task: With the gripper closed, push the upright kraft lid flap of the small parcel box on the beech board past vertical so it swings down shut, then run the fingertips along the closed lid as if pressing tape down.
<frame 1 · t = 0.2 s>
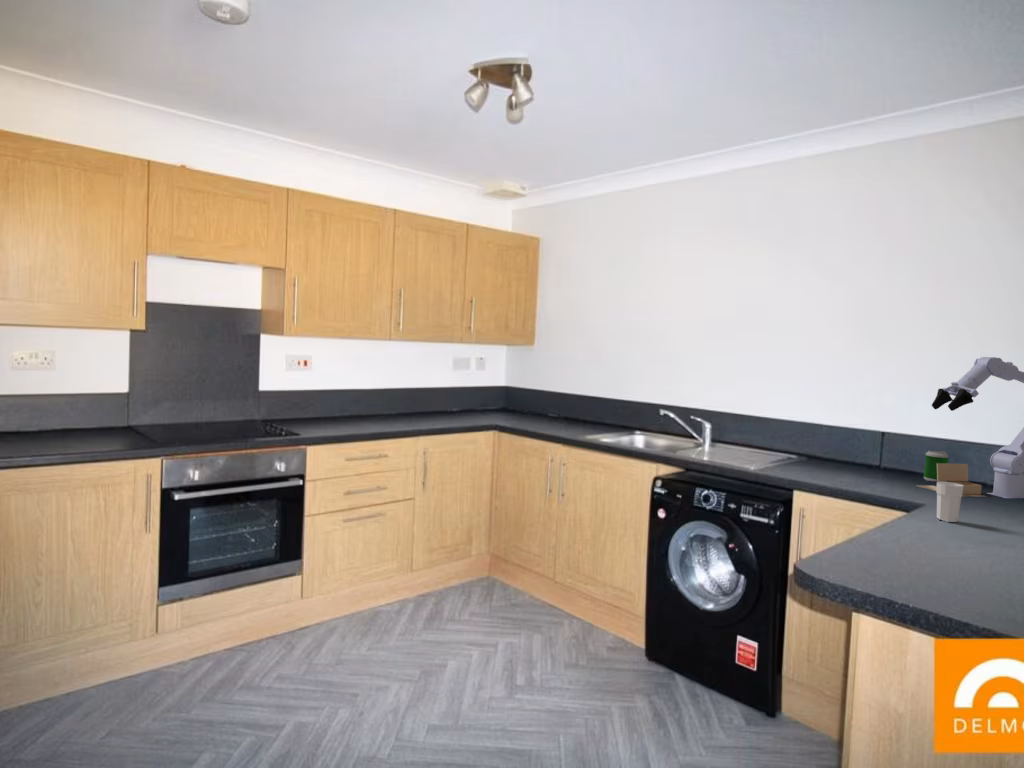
hand: (941, 407, 227), 31 cm above the countertop, tool tilted 45°, fingers open, 7 cm apart
lid flap: (952, 472, 236), point 7 cm above the countertop, hinge at 99.0°
soda can: (934, 482, 256), on the countertop
board: (950, 492, 236), on the countertop
cup: (946, 521, 193), on the countertop
parcel box: (958, 493, 233), resting on board
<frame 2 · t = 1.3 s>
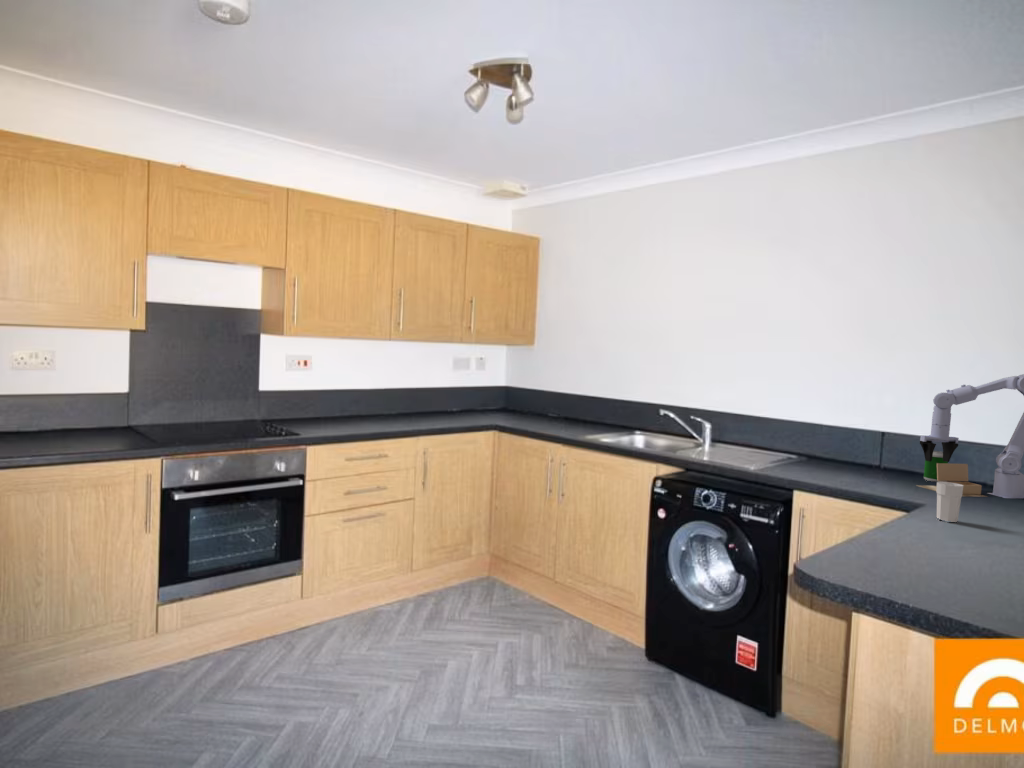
hand: (937, 461, 243), 10 cm above the countertop, tool pointing down, fingers open, 7 cm apart
nothing on the countertop moved.
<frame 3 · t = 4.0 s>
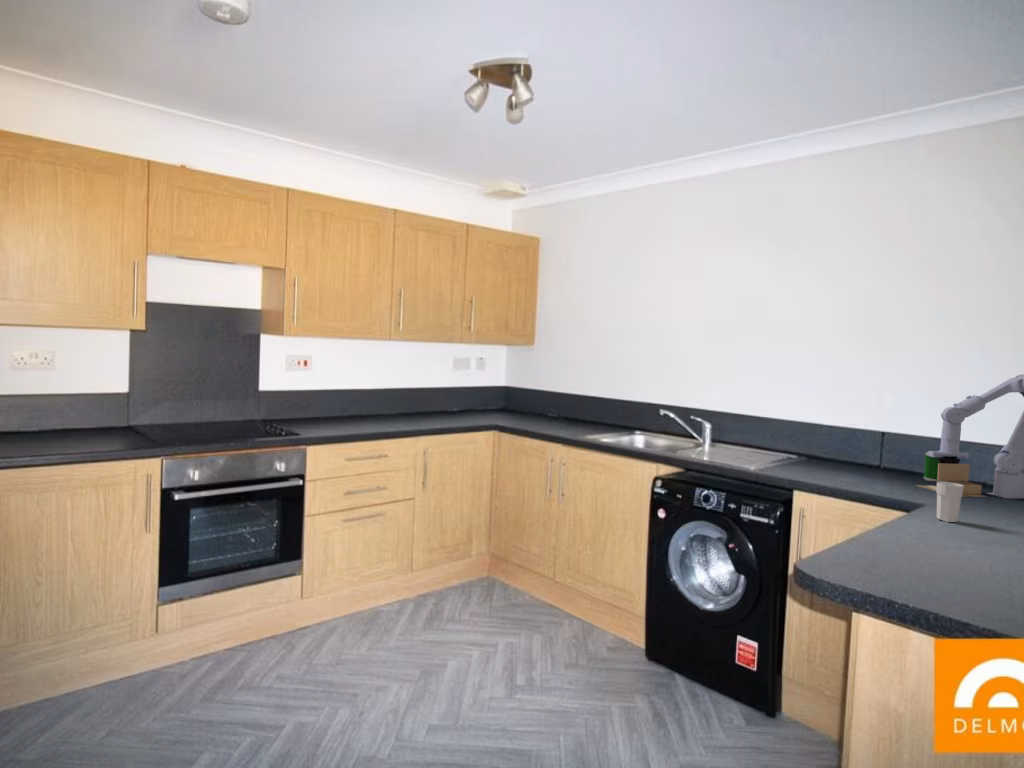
hand: (946, 477, 238), 5 cm above the countertop, tool pointing down, fingers closed, pressing on lid flap
lid flap: (953, 472, 236), point 7 cm above the countertop, hinge at 92.2°, touching gripper
everything else where it was.
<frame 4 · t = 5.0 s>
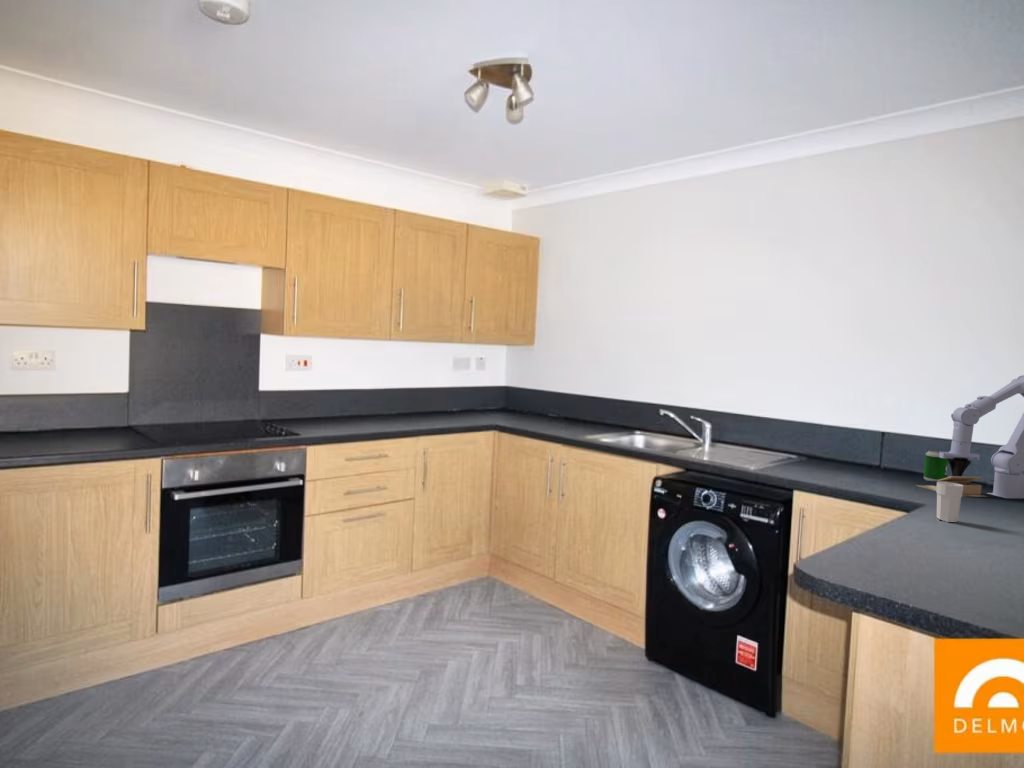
hand: (956, 478, 234), 5 cm above the countertop, tool pointing down, fingers closed, pressing on lid flap
lid flap: (959, 478, 233), point 6 cm above the countertop, hinge at 24.0°, touching gripper
everything else where it was.
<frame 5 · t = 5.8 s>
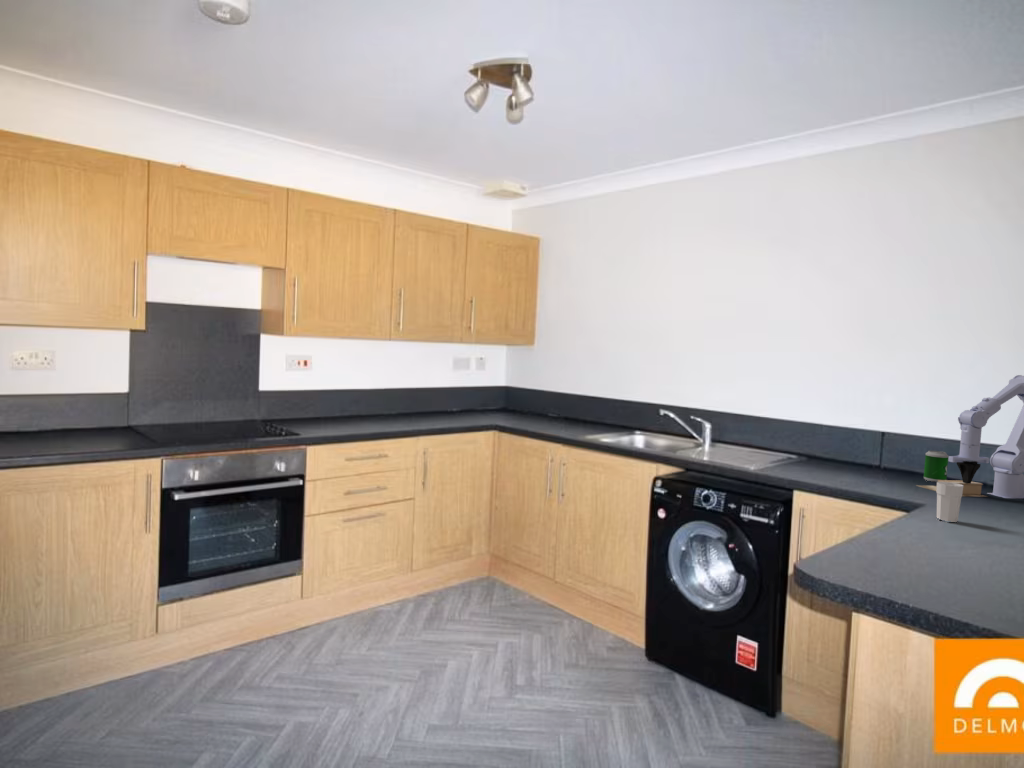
hand: (966, 482, 230), 5 cm above the countertop, tool pointing down, fingers closed
lid flap: (960, 482, 233), point 5 cm above the countertop, hinge at 1.9°
everything else where it was.
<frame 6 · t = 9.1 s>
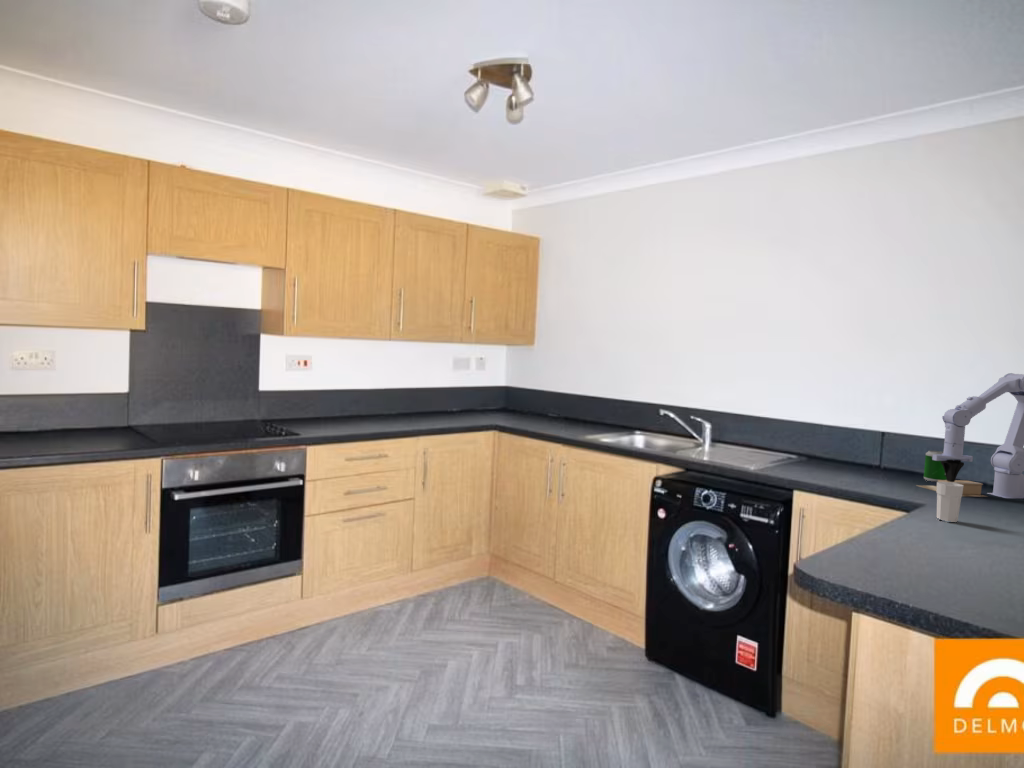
hand: (950, 481, 232), 5 cm above the countertop, tool pointing down, fingers closed
lid flap: (960, 482, 233), point 4 cm above the countertop, hinge at 1.5°
everything else where it was.
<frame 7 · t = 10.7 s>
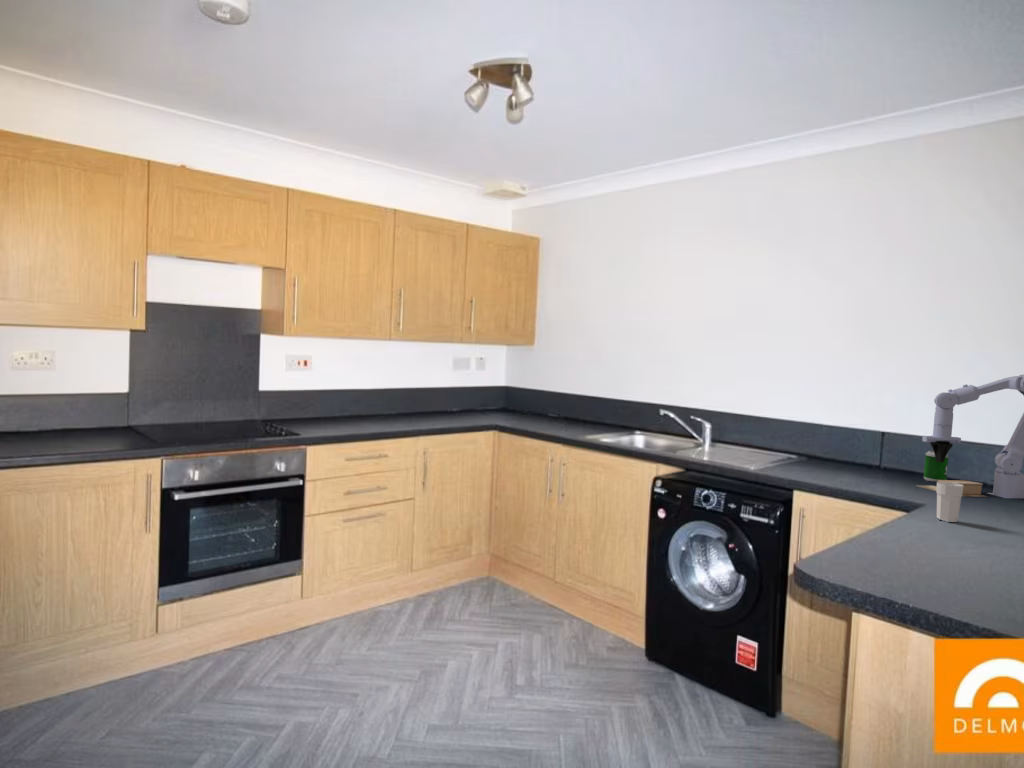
hand: (939, 461, 241), 10 cm above the countertop, tool pointing down, fingers closed
nothing on the countertop moved.
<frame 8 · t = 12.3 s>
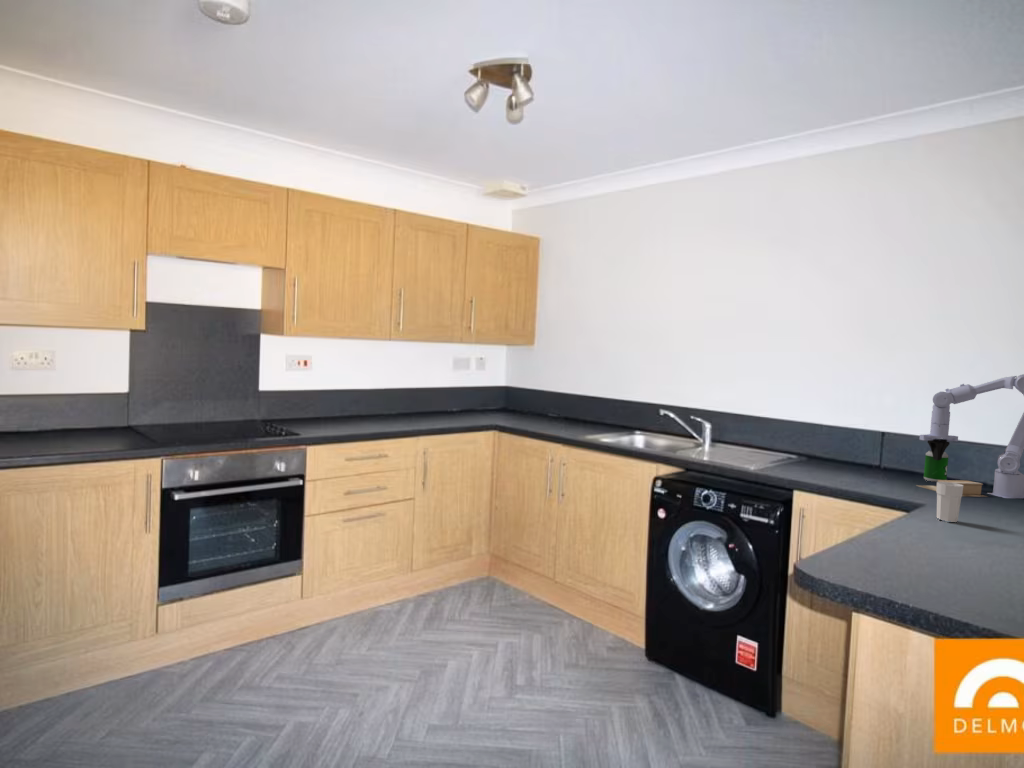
hand: (936, 459, 244), 10 cm above the countertop, tool pointing down, fingers closed
nothing on the countertop moved.
at the end: lid flap at +2° (first picture: +99°) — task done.
